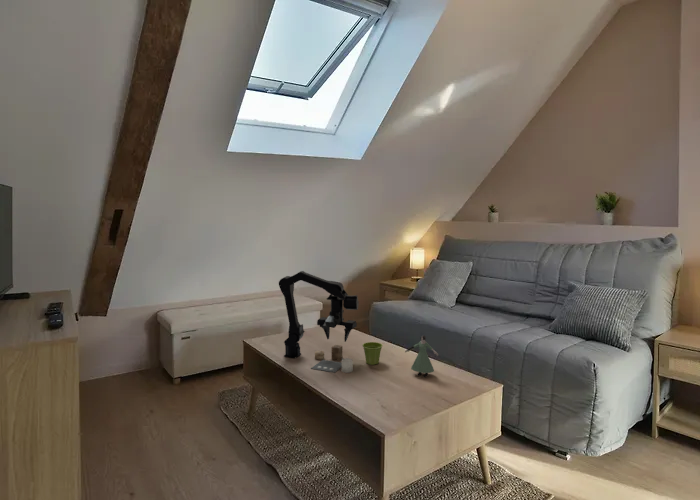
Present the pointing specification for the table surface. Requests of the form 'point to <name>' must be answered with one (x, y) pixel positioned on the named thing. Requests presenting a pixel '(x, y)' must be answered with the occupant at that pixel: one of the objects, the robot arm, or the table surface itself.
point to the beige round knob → (319, 355)
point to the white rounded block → (347, 365)
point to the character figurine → (422, 358)
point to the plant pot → (372, 352)
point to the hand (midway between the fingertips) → (336, 340)
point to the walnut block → (336, 352)
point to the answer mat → (328, 366)
